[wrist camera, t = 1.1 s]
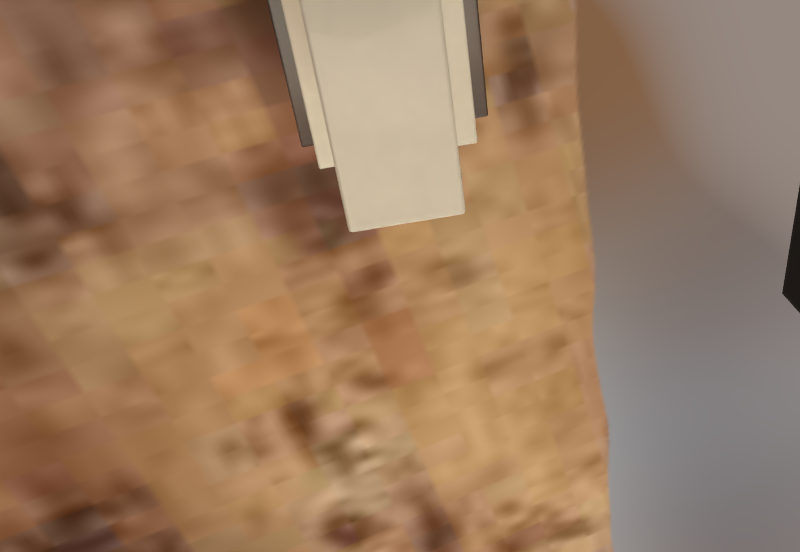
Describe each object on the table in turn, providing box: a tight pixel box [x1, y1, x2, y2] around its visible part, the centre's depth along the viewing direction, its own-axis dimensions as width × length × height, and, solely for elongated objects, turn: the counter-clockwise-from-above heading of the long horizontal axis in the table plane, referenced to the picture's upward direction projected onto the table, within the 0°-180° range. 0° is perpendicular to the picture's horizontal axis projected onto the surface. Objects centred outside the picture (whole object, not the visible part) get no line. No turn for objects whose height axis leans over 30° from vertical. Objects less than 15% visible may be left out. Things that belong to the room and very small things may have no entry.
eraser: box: [281, 0, 477, 232], centre depth 20 cm, size 11×6×9 cm, turn 9°
